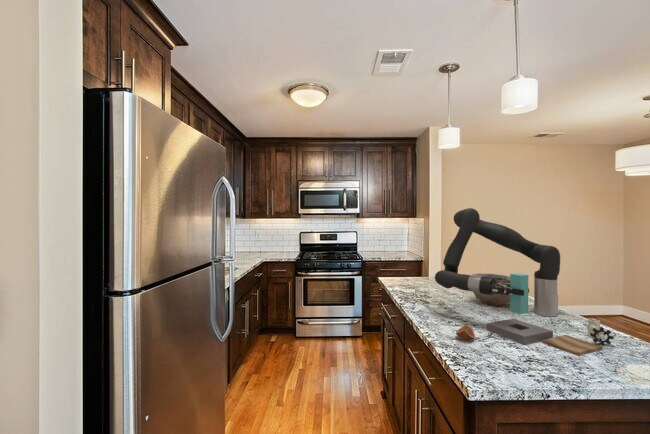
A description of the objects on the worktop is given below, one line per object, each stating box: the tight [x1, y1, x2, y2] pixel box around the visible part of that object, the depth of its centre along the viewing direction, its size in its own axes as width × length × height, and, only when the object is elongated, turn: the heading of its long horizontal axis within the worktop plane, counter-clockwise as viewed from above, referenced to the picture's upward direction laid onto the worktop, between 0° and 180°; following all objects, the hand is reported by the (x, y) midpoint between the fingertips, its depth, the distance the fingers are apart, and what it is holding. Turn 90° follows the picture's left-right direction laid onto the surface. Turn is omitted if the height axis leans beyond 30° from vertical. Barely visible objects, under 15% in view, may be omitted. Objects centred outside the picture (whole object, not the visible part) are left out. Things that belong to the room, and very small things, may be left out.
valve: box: [586, 318, 614, 346], centre depth 121 cm, size 7×7×12 cm
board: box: [541, 334, 603, 357], centre depth 115 cm, size 14×12×1 cm
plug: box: [509, 272, 529, 315], centre depth 126 cm, size 4×4×15 cm
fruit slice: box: [455, 323, 476, 341], centre depth 120 cm, size 8×7×5 cm
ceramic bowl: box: [471, 272, 510, 306], centre depth 172 cm, size 22×22×15 cm
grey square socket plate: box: [486, 318, 554, 346], centre depth 126 cm, size 16×16×3 cm
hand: (526, 291), depth 124 cm, fingers closed on plug, 5 cm apart
